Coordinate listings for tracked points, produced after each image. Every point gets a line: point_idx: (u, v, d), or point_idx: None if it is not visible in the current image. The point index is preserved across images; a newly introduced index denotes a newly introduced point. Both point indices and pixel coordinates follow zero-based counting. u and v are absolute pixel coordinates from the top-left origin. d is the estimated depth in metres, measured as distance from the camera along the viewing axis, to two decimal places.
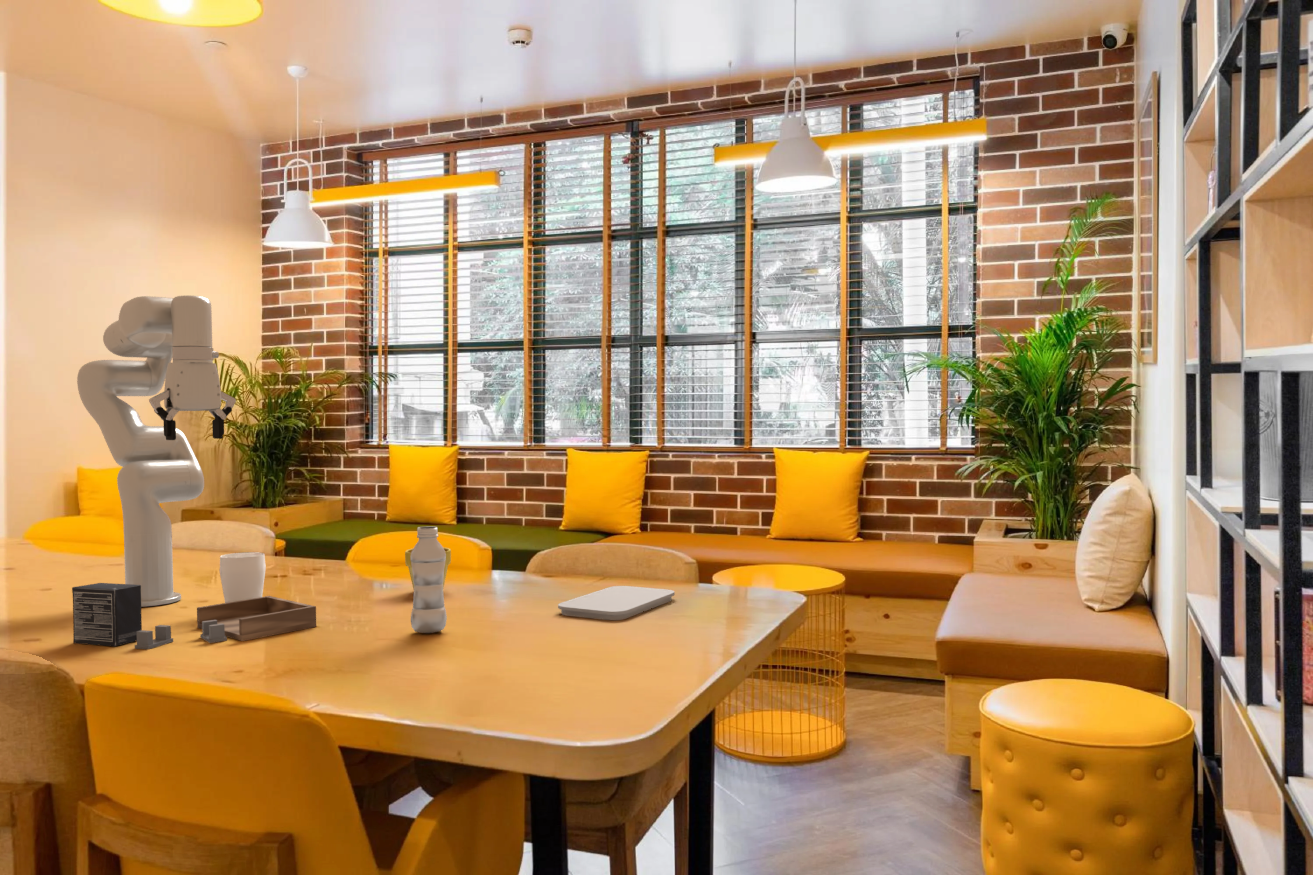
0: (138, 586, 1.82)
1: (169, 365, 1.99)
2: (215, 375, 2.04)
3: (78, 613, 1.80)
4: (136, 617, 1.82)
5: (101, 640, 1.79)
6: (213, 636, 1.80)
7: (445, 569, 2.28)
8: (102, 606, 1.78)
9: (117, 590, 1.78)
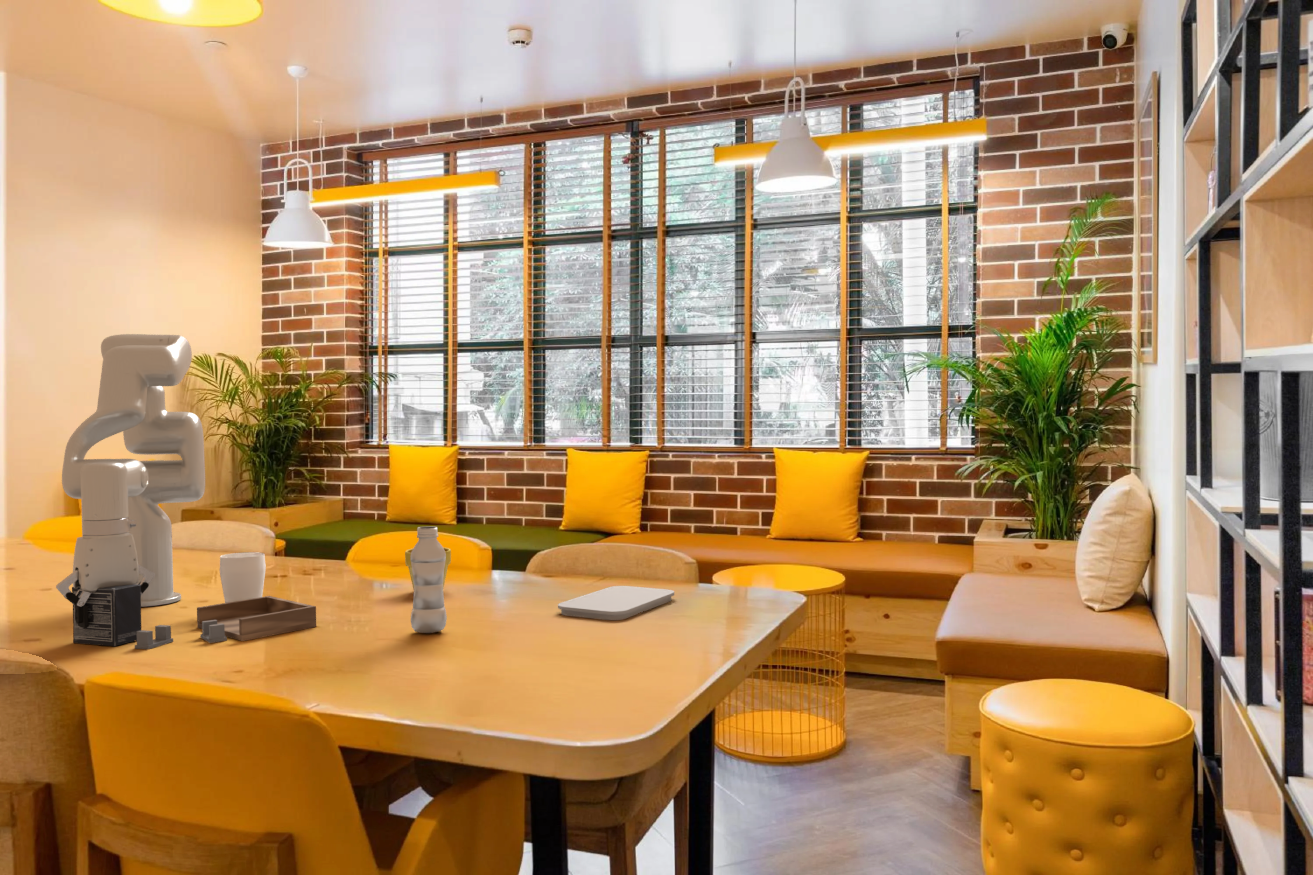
0: (138, 586, 1.82)
1: (78, 541, 1.78)
2: (131, 548, 1.83)
3: None
4: (136, 617, 1.82)
5: (100, 640, 1.78)
6: (213, 636, 1.80)
7: (445, 569, 2.28)
8: (101, 605, 1.78)
9: (117, 590, 1.78)
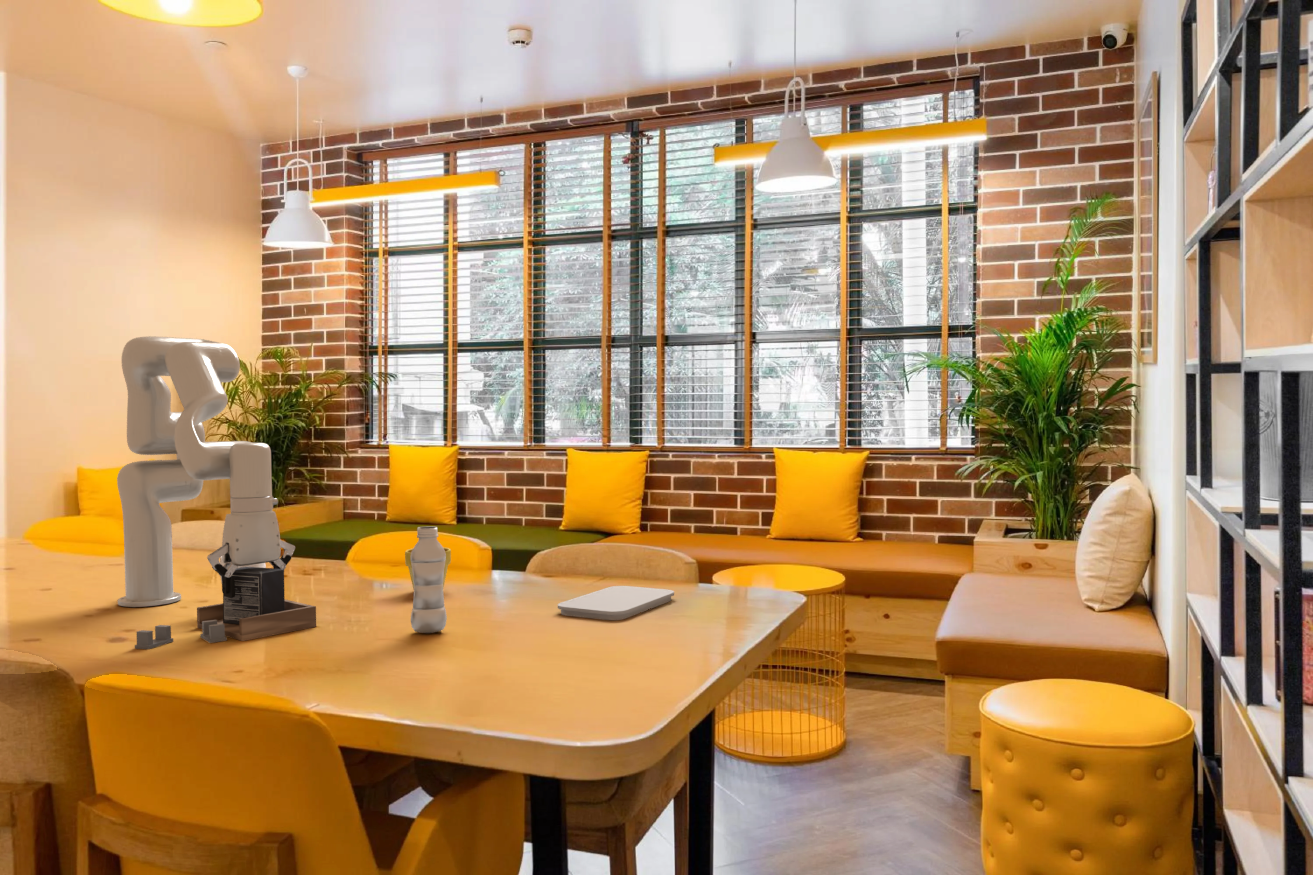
0: (282, 570, 1.92)
1: (227, 517, 1.88)
2: (275, 524, 1.93)
3: None
4: (280, 599, 1.92)
5: None
6: (213, 636, 1.80)
7: (445, 569, 2.28)
8: (249, 588, 1.89)
9: (263, 573, 1.88)
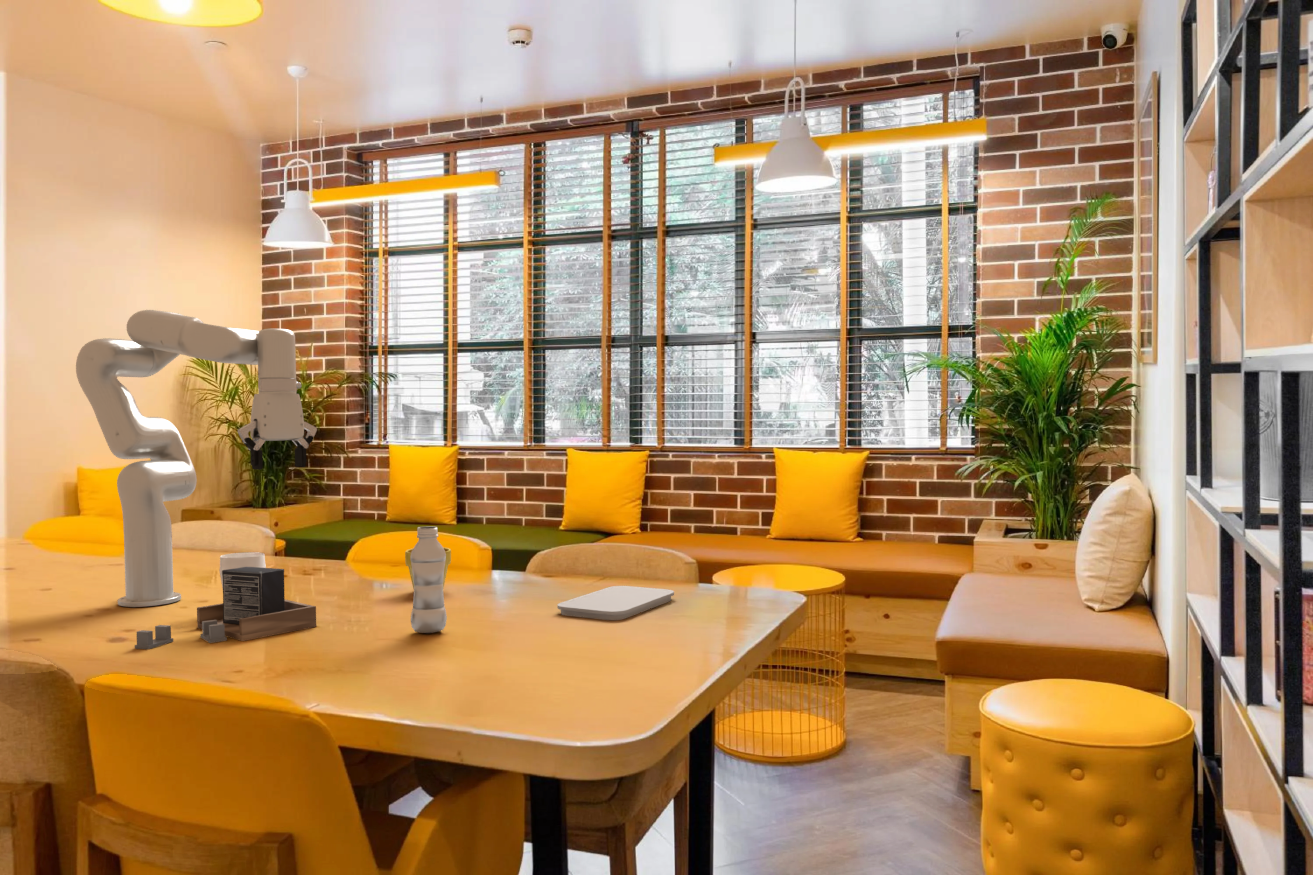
0: (282, 570, 1.92)
1: (256, 396, 2.05)
2: (299, 405, 2.10)
3: (227, 594, 1.91)
4: (280, 599, 1.92)
5: None
6: (213, 636, 1.80)
7: (445, 569, 2.28)
8: (249, 588, 1.89)
9: (263, 573, 1.88)
